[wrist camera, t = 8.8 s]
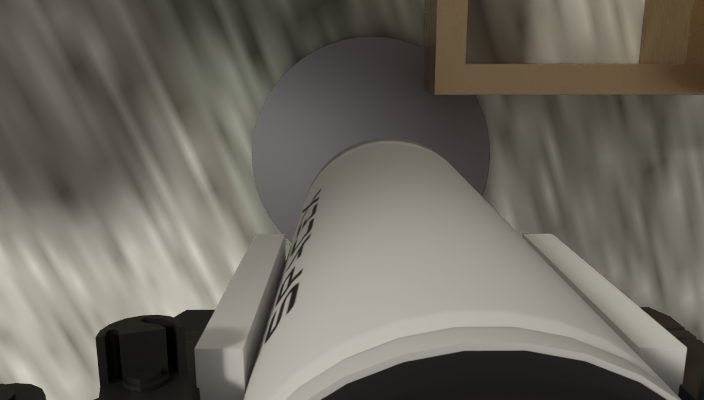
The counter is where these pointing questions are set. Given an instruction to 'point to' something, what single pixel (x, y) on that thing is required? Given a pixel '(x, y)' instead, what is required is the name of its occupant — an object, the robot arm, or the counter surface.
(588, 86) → the brown wooden open box
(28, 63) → the counter surface
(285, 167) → the mat
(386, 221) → the travel mug
